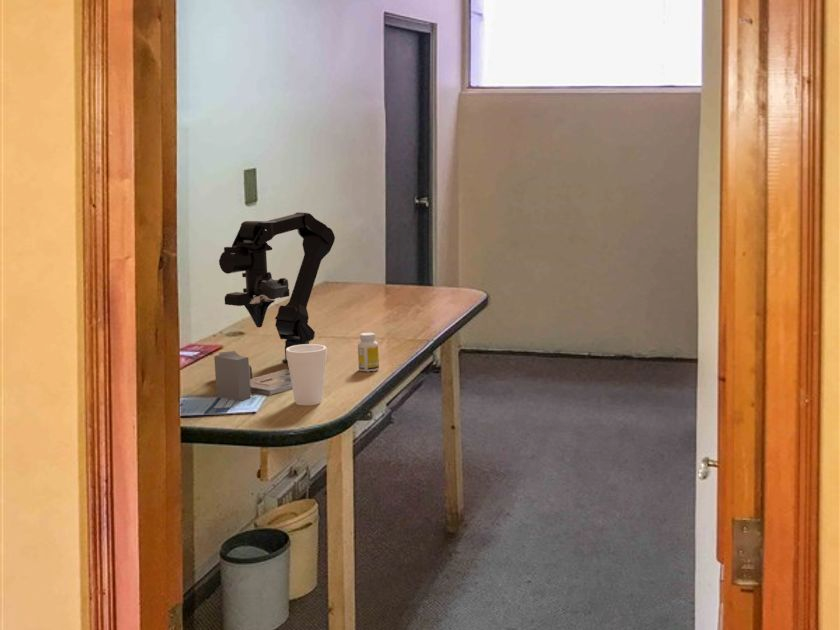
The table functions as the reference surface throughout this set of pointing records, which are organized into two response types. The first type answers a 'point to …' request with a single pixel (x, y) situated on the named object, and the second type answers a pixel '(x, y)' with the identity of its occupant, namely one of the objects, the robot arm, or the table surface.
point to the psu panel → (272, 382)
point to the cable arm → (239, 355)
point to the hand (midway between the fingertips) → (259, 327)
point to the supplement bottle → (368, 353)
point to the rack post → (232, 376)
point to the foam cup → (307, 372)
